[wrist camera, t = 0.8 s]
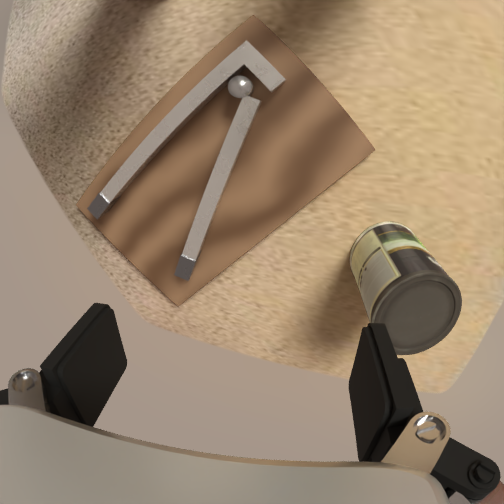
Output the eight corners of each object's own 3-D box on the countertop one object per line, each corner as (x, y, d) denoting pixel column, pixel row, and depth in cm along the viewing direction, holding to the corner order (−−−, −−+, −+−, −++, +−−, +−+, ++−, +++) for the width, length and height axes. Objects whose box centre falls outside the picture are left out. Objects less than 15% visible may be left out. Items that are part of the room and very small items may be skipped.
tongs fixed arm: (248, 44, 31) (245, 39, 28) (285, 81, 32) (285, 79, 29) (98, 201, 40) (86, 208, 37) (128, 231, 42) (118, 241, 39)
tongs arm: (237, 75, 32) (233, 72, 29) (269, 87, 32) (267, 85, 30) (168, 258, 43) (160, 269, 40) (194, 269, 43) (188, 281, 40)
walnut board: (81, 201, 42) (75, 205, 41) (254, 17, 30) (253, 14, 29) (180, 300, 48) (178, 306, 46) (372, 148, 36) (375, 149, 34)
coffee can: (403, 206, 39) (450, 254, 26) (427, 267, 42) (468, 327, 29) (335, 244, 42) (355, 306, 29) (366, 300, 45) (389, 369, 32)
